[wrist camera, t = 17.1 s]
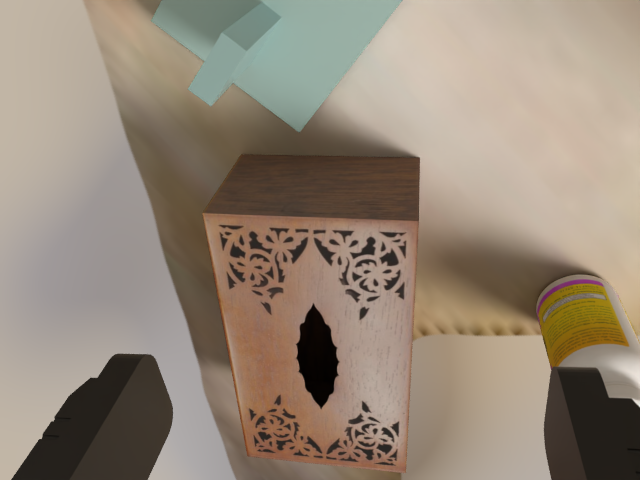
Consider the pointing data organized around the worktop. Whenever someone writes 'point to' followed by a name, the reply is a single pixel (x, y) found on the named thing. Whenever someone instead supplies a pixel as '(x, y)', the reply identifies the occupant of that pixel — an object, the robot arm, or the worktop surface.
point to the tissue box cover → (319, 303)
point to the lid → (274, 47)
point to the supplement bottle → (591, 332)
